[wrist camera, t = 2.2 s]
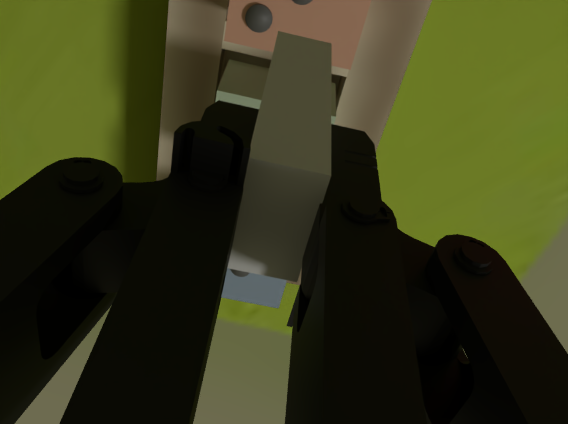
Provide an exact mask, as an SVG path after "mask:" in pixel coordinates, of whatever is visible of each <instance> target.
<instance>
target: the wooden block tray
mask: <svg viewBox="0 0 568 424" xmlns="http://www.w3.org/2000/svg"><path fill="white" fill-rule="evenodd" d="M229 1H230V0H169V7H168V22H167V36H166V50H165V64H164V78H163V93H162V107H161V121H160V135H159V150H158V164H157V178H156V181H159V180H163V179H165V178H168V176H169V174H170V172H171V160H172V149H173V138H174V132H175V131H176V130H177V129H178V128H179V127H180V126H181V125H183V124H186V123H189V122H192V121H201V118H202V116H203V114H204V111H205V109H206V108H207V107H209V106H210V105H212V104H213V103H215V101H216V94H217V89H218V87H219V84H220V81H221V79H222V76H223V74H224V71H225V69H226V66H227V64H228V61H229V59H231V60H235V61H239V62H244V63H248V64H253V65H257V66H261V67H266V68H269V67H270V63H271V59H272V55H273V52H270V51H266V50H261V49H257V48H253V47H248V46H244V45H240V44H235V43H231V42H227V41H224V37H225V30H226V22H227V15H228V8H229ZM431 1H432V0H371V3H370V7H369V10H368V13H367V17H366V20H365V23H364V27H363V30H362V33H361V36H360V40H359V43H358V46H357V50H356V53H355V56H354V60H353V63H352V66H351V70H348V69H344V68H340V67H335V66H332V79H331V82H332V83H335V87H336V119H335V123H334V125H339V126H343V127H348V128H352V129H356V130H361V131H365V132H366V134H367V135H368V136H369V138H370V139H371V140H372V142H373V143H374V144H375V152H376V149H377V147H378V144H379V141H380V139H381V136H382V133H383V130H384V128H385V125H386V122H387V120H388V117H389V114H390V112H391V109H392V106H393V103H394V101H395V98H396V95H397V93H398V90H399V87H400V85H401V82H402V79H403V77H404V74H405V71H406V68H407V66H408V63H409V60H410V58H411V55H412V52H413V50H414V47H415V44H416V42H417V39H418V36H419V33H420V31H421V28H422V25H423V23H424V20H425V17H426V15H427V12H428V9H429V7H430V4H431ZM301 272H302V268H301V271H300V275H299V278H298V281H297V282H293V281H288V280H287V281H286V282H287V283H292V284H297V285H300V284H301Z"/></svg>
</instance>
